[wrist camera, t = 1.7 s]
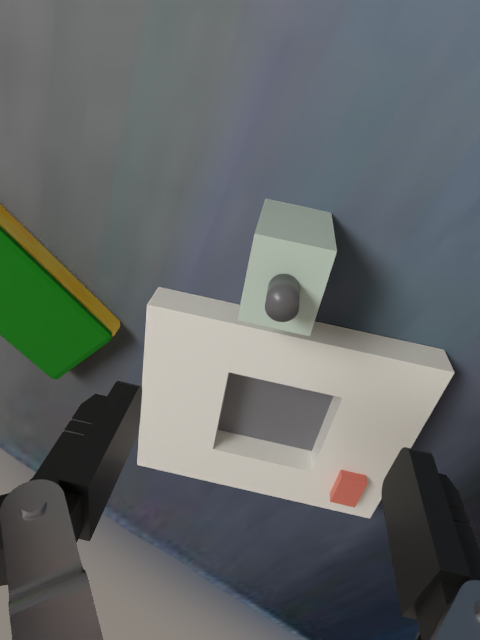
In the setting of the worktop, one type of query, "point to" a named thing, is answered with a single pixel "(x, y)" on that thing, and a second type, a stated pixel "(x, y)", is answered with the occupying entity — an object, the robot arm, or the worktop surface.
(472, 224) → the worktop surface
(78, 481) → the robot arm
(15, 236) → the dish sponge
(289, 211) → the plug
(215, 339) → the socket plate
